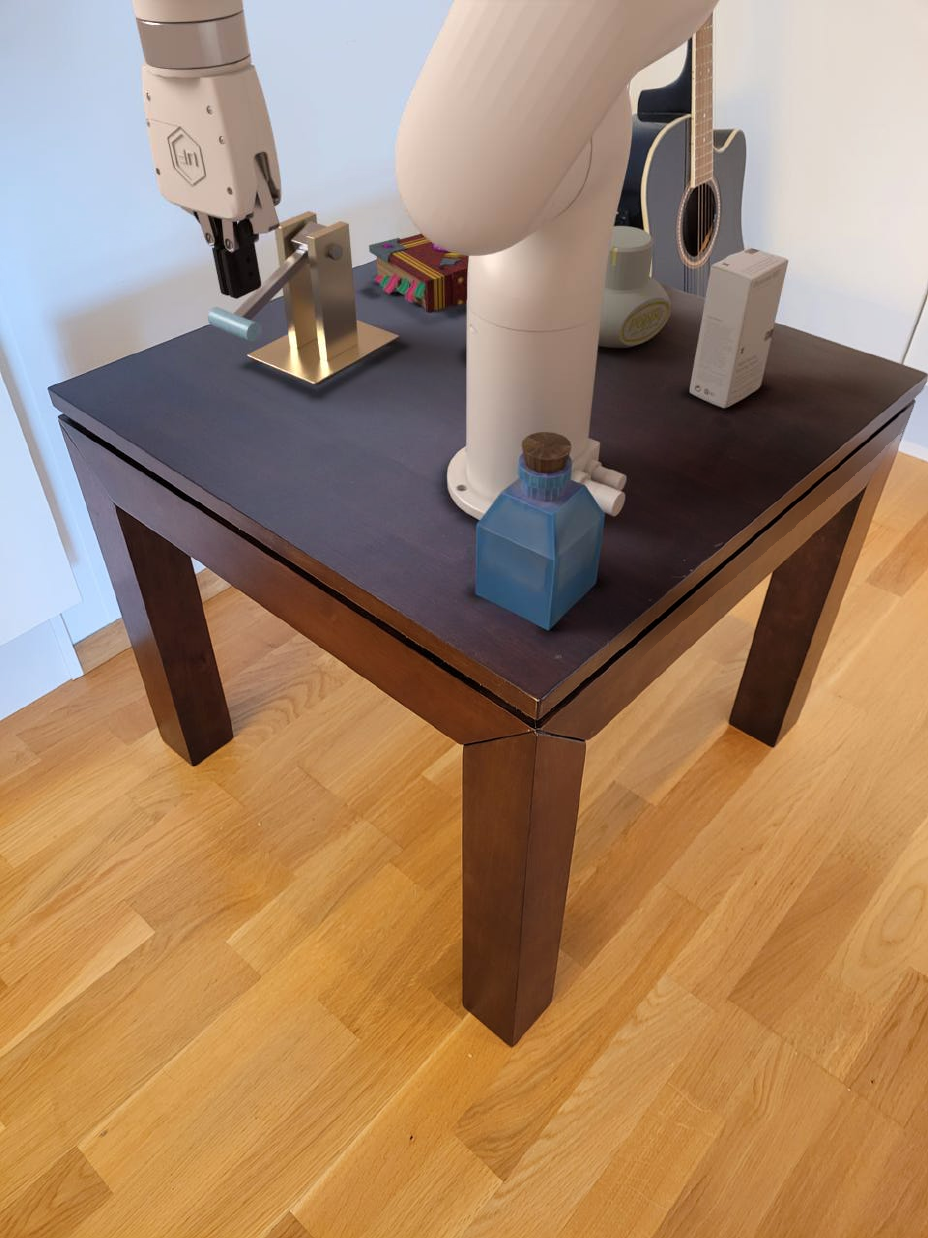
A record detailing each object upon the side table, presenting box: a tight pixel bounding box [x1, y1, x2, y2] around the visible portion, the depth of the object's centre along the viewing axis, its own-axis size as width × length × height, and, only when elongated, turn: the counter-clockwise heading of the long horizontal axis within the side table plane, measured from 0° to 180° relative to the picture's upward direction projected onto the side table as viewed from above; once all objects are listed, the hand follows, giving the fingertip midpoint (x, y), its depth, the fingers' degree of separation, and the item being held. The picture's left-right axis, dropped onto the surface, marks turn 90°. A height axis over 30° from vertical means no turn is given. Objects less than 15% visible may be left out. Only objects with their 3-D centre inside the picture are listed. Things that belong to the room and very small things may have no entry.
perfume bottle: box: [475, 432, 606, 632], centre depth 64 cm, size 6×6×12 cm
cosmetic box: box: [689, 247, 789, 409], centre depth 84 cm, size 6×4×12 cm
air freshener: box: [598, 225, 672, 349], centre depth 93 cm, size 11×8×10 cm
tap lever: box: [207, 221, 328, 343], centre depth 84 cm, size 13×5×2 cm, turn 143°
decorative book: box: [368, 231, 469, 314], centre depth 103 cm, size 11×16×5 cm
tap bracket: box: [246, 210, 400, 387], centre depth 89 cm, size 12×9×13 cm
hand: (241, 290), depth 80 cm, fingers closed
